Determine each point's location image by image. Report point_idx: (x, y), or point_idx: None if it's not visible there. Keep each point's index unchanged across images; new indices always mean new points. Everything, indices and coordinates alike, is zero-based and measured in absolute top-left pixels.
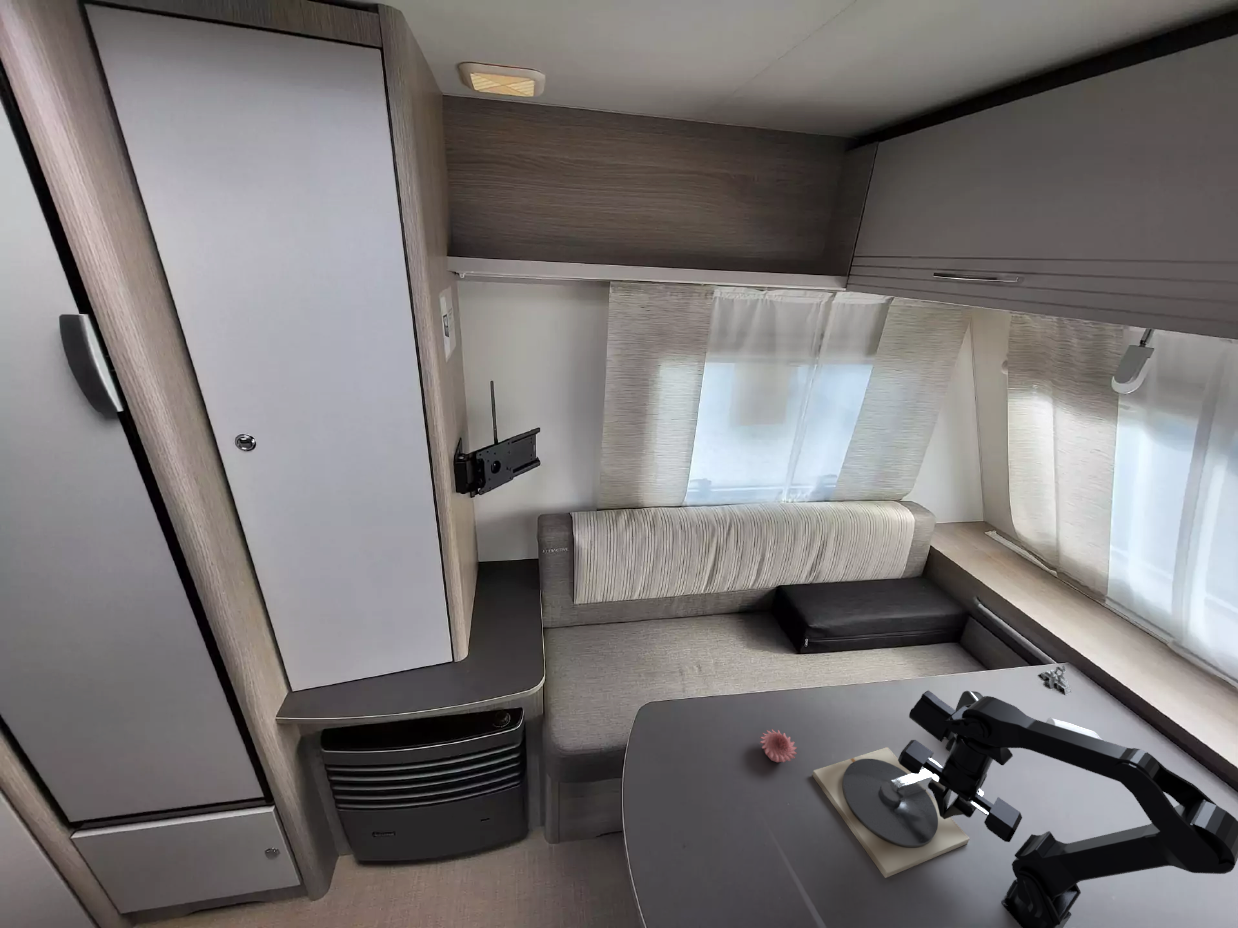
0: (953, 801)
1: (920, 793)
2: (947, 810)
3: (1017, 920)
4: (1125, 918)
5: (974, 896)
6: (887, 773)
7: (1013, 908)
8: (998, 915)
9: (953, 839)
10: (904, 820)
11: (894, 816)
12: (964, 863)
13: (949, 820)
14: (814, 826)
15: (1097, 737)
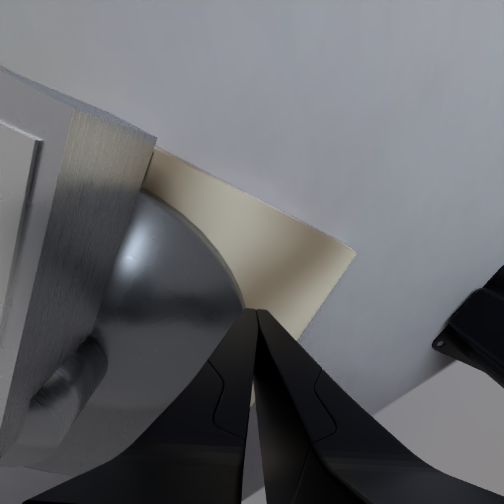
0: (289, 483)
1: (134, 236)
2: (265, 481)
3: (464, 359)
4: None
5: (369, 376)
6: None
7: (462, 347)
8: (421, 378)
9: (305, 300)
10: (151, 397)
11: (120, 407)
12: (341, 315)
13: (279, 235)
14: (28, 478)
15: None
